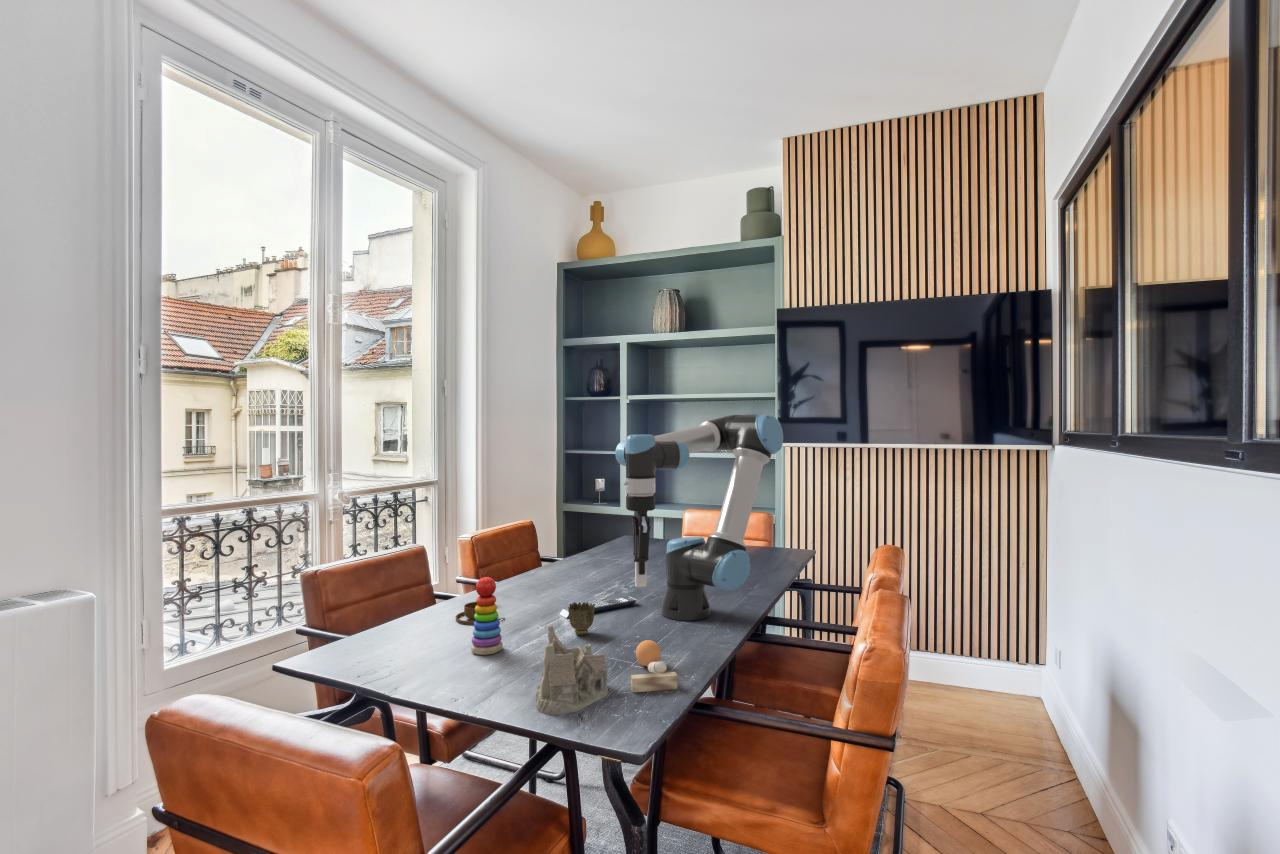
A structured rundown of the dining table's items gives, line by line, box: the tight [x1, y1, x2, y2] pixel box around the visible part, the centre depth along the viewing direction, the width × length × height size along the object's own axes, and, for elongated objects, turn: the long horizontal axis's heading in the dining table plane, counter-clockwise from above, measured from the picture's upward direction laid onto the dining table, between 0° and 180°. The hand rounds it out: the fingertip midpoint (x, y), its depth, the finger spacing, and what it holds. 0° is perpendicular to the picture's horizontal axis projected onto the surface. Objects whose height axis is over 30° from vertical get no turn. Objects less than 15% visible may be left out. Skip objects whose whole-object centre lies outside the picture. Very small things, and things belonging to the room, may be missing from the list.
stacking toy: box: [470, 576, 504, 656], centre depth 162 cm, size 8×8×19 cm
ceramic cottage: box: [535, 624, 609, 716], centre depth 135 cm, size 16×16×15 cm
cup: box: [567, 601, 596, 637], centre depth 175 cm, size 8×7×8 cm
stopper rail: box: [630, 671, 678, 694], centre depth 138 cm, size 10×2×3 cm, turn 100°
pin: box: [647, 660, 668, 674], centre depth 144 cm, size 2×2×8 cm
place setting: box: [455, 601, 506, 626], centre depth 192 cm, size 18×20×6 cm
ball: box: [635, 639, 662, 668], centre depth 152 cm, size 6×6×6 cm
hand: (640, 586), depth 162 cm, fingers closed
